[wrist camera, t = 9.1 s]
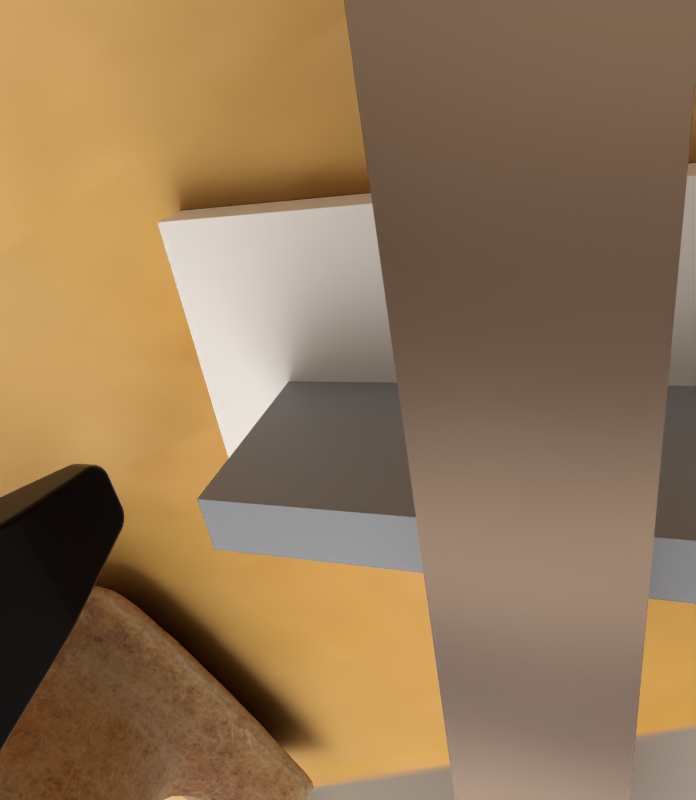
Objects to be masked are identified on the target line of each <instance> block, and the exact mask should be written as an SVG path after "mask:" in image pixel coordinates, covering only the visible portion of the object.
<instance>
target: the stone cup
mask: <svg viewBox="0 0 696 800" xmlns="http://www.w3.org/2000/svg"><path fill="white" fill-rule="evenodd" d="M313 788H314V787H313V783H312V781H311V780H310V778H309V777H308V776H307V774H306V773H305V772H304V771H303V770H302V769H301V767H300V766H299V765H298V764H297V763H296V762H295V761H294V760H293V759H292V758H291V757H290V756H289V755H288V754H287V752H286V751H285V750H284V749H283V748H282V747H281V746H280V745H279V744H278V743H277V742H276V741H275V740H274V739H273V737H272V736H271V735H270V734H269V733H268V732H267V731H266V729H265V728H264V727H263V726H262V725H261V724H260V723H259V722H258V721H257V720H256V719H255V718H254V717H253V716H252V715H251V714H250V713H249V712H248V711H247V710H246V709H245V708H244V707H243V706H242V705H241V704H240V703H239V702H238V701H237V700H236V698H235V697H234V696H233V695H232V694H231V693H230V692H228V691H227V689H226V688H225V687H224V686H223V685H222V684H221V683H220V682H218V681H217V680H216V679H215V678H214V677H213V676H212V675H211V674H210V673H209V672H208V671H207V670H206V669H205V668H204V667H203V666H202V665H201V664H200V663H199V662H198V661H197V660H196V659H195V658H194V657H193V656H192V655H191V654H190V653H189V652H188V651H187V650H186V649H184V648H183V647H182V646H181V645H180V644H179V643H178V642H177V641H176V640H175V639H174V638H173V637H172V636H170V635H169V634H168V633H167V632H166V631H164V630H163V629H162V628H161V627H160V626H159V625H158V624H156V623H155V622H154V621H153V620H152V619H151V618H150V617H149V616H147V615H146V614H145V613H144V612H143V611H142V610H141V609H139V608H138V607H137V606H136V605H135V604H133V603H132V602H130V601H129V600H128V599H126V598H125V597H123V596H121V595H120V594H118V593H117V592H115V591H112V590H109V589H105V588H102V587H98V586H94V588H93V590H92V592H91V594H90V596H89V599H88V601H87V603H86V605H85V607H84V609H83V611H82V613H81V615H80V617H79V619H78V621H77V623H76V625H75V626H74V628H73V630H72V632H71V633H70V635H69V637H68V639H67V640H66V642H65V644H64V646H63V647H62V649H61V651H60V652H59V654H58V656H57V657H56V659H55V661H54V662H53V664H52V666H51V667H50V669H49V671H48V673H47V674H46V676H45V678H44V679H43V681H42V683H41V684H40V686H39V688H38V689H37V691H36V693H35V694H34V696H33V698H32V699H31V701H30V703H29V705H28V706H27V708H26V710H25V711H24V713H23V715H22V716H21V718H20V720H19V721H18V723H17V725H16V726H15V728H14V730H13V731H12V733H11V735H10V737H9V738H8V740H7V742H6V743H5V745H4V747H3V748H2V750H1V752H0V800H164V799H166V798H168V797H171V796H183V797H185V798H186V799H188V800H306V797H307V796H308V795H309V793H310V792H311V791H312V789H313Z"/></svg>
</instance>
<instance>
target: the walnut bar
mask: <svg viewBox="0 0 696 800" xmlns="http://www.w3.org/2000/svg"><path fill="white" fill-rule="evenodd" d="M344 4H345V11H346V18H347V25H348V33H349V40H350V47H351V54H352V61H353V69H354V76H355V83H356V90H357V97H358V104H359V112H360V119H361V126H362V133H363V140H364V148H365V155H366V162H367V169H368V176H369V184H370V191H371V198H372V205H373V212H374V219H375V227H376V234H377V241H378V248H379V255H380V263H381V270H382V277H383V284H384V291H385V299H386V306H387V313H388V320H389V327H390V334H391V342H392V349H393V356H394V363H395V370H396V378H397V385H398V392H399V399H400V406H401V413H402V421H403V428H404V435H405V442H406V449H407V457H408V464H409V471H410V478H411V485H412V493H413V500H414V507H415V514H416V521H417V528H418V536H419V543H420V550H421V557H422V564H423V572H424V579H425V586H426V593H427V600H428V607H429V615H430V622H431V629H432V636H433V643H434V651H435V658H436V665H437V672H438V679H439V687H440V694H441V701H442V708H443V715H444V722H445V730H446V737H447V744H448V751H449V758H450V766H451V772H452V780H453V787H454V794H455V800H630V792H631V782H632V771H633V760H634V749H635V738H636V727H637V716H638V706H639V695H640V684H641V673H642V662H643V651H644V640H645V629H646V618H647V607H648V597H649V586H650V575H651V564H652V553H653V542H654V531H655V520H656V509H657V498H658V487H659V477H660V466H661V455H662V444H663V433H664V422H665V411H666V400H667V389H668V378H669V367H670V357H671V346H672V335H673V324H674V313H675V302H676V291H677V280H678V269H679V258H680V248H681V237H682V226H683V215H684V204H685V193H686V182H687V171H688V160H689V149H690V138H691V128H692V117H693V106H694V95H695V84H696V0H344Z"/></svg>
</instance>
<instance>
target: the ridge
mask: <svg viewBox="0 0 696 800" xmlns="http://www.w3.org/2000/svg"><path fill="white" fill-rule="evenodd" d="M158 226H159V229H160V232H161V236H162V239H163V242H164V246H165V249H166V252H167V256H168V259H169V262H170V265H171V269H172V272H173V275H174V279H175V282H176V285H177V289H178V292H179V295H180V299H181V302H182V305H183V309H184V312H185V315H186V319H187V322H188V325H189V328H190V332H191V335H192V338H193V342H194V345H195V348H196V352H197V355H198V358H199V362H200V365H201V368H202V372H203V375H204V378H205V382H206V385H207V388H208V391H209V395H210V398H211V401H212V405H213V408H214V411H215V415H216V418H217V421H218V425H219V428H220V431H221V435H222V438H223V441H224V445H225V448H226V451H227V454H228V458H229V459H228V460H227V461H226V463H225V464H224V465H223V467H222V468H221V469H220V470H219V472H218V473H217V474H216V476H215V477H214V478H213V479H212V481H211V482H210V483H209V485H208V486H207V487H206V488H205V490H204V491H203V492H202V494H201V495H200V496H199V497H198V499H197V500H198V503H199V506H200V509H201V512H202V515H203V518H204V521H205V523H206V526H207V529H208V532H209V535H210V538H211V541H212V544H213V547H214V549H216V550H225V551H234V552H242V553H251V554H260V555H269V556H278V557H287V558H296V559H304V560H313V561H322V562H331V563H340V564H349V565H358V566H366V567H375V568H384V569H393V570H402V571H411V572H419V573H424V572H423V564H422V557H421V550H420V543H419V536H418V528H417V521H416V514H415V507H414V500H413V493H412V485H411V478H410V471H409V464H408V457H407V449H406V442H405V435H404V428H403V421H402V413H401V406H400V399H399V392H398V385H397V378H396V370H395V363H394V356H393V349H392V342H391V334H390V327H389V320H388V313H387V306H386V299H385V291H384V284H383V277H382V270H381V263H380V255H379V248H378V241H377V234H376V227H375V219H374V212H373V205H372V198H371V193H366V194H355V195H345V196H334V197H323V198H312V199H302V200H291V201H280V202H270V203H259V204H248V205H237V206H227V207H216V208H205V209H194V210H184V211H178V212H176V213H174V214H172V215H170V216H169V217H167V218H165V219H163V220H161V221H159V222H158ZM648 598H650V599H659V600H667V601H676V602H685V603H694V604H696V163H688V171H687V182H686V193H685V204H684V215H683V226H682V237H681V248H680V258H679V269H678V280H677V291H676V302H675V313H674V324H673V335H672V346H671V357H670V367H669V378H668V389H667V400H666V411H665V422H664V433H663V444H662V455H661V466H660V477H659V487H658V498H657V509H656V520H655V531H654V542H653V553H652V564H651V575H650V586H649V597H648Z"/></svg>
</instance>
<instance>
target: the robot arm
mask: <svg viewBox="0 0 696 800" xmlns="http://www.w3.org/2000/svg"><path fill="white" fill-rule="evenodd" d="M123 523H124V511H123V508H122V506H121V503H120V501H119V499H118V497H117V494H116V492H115V490H114V488H113V486H112V483H111V481H110V479H109V477H108V474H107V473H106V471H105V470H104V469H103V468H102V467H100V466H98V465H88V464H73V465H70V466H67V467H65V468H63V469H61V470H58V471H56V472H54V473H52V474H50V475H48V476H46V477H43V478H41V479H39V480H37V481H35V482H33V483H30V484H28V485H26V486H24V487H22V488H20V489H17V490H15V491H13V492H11V493H9V494H7V495H5V496H2V497H0V752H1V750H2V748H3V747H4V745H5V743H6V742H7V740H8V738H9V737H10V735H11V733H12V731H13V730H14V728H15V726H16V725H17V723H18V721H19V720H20V718H21V716H22V715H23V713H24V711H25V710H26V708H27V706H28V705H29V703H30V701H31V699H32V698H33V696H34V694H35V693H36V691H37V689H38V688H39V686H40V684H41V683H42V681H43V679H44V678H45V676H46V674H47V673H48V671H49V669H50V667H51V666H52V664H53V662H54V661H55V659H56V657H57V656H58V654H59V652H60V651H61V649H62V647H63V646H64V644H65V642H66V640H67V639H68V637H69V635H70V633H71V632H72V630H73V628H74V626H75V625H76V623H77V621H78V619H79V617H80V615H81V613H82V611H83V609H84V607H85V605H86V603H87V601H88V599H89V596H90V594H91V592H92V590H93V588H94V586H95V584H96V582H97V580H98V578H99V576H100V573H101V571H102V569H103V567H104V565H105V563H106V561H107V559H108V557H109V555H110V553H111V550H112V548H113V546H114V544H115V542H116V540H117V538H118V536H119V534H120V532H121V529H122V527H123Z"/></svg>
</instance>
